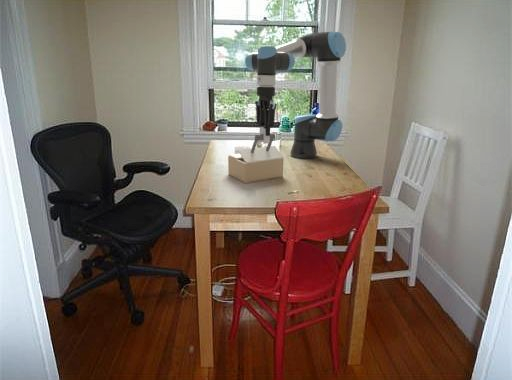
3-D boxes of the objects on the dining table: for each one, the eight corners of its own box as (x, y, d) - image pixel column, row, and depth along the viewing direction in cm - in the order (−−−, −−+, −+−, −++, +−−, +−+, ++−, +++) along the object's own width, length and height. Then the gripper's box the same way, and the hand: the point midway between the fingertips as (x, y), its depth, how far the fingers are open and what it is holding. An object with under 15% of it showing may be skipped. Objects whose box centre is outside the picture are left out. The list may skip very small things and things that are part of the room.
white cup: (236, 170, 178) (236, 150, 175) (233, 165, 185) (232, 146, 182) (252, 168, 180) (252, 149, 177) (248, 165, 187) (248, 146, 184)
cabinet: (264, 168, 180) (264, 150, 177) (282, 177, 167) (283, 157, 164) (228, 174, 170) (228, 154, 167) (245, 183, 157) (245, 162, 154)
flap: (274, 146, 168) (281, 129, 161) (282, 158, 164) (290, 140, 157) (238, 151, 159) (243, 132, 152) (246, 163, 155) (252, 145, 148)
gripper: (248, 85, 154) (248, 139, 161) (268, 87, 141) (266, 146, 149) (263, 85, 157) (262, 138, 165) (284, 87, 145) (281, 144, 152)
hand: (264, 142), depth 157 cm, fingers open, 2 cm apart
